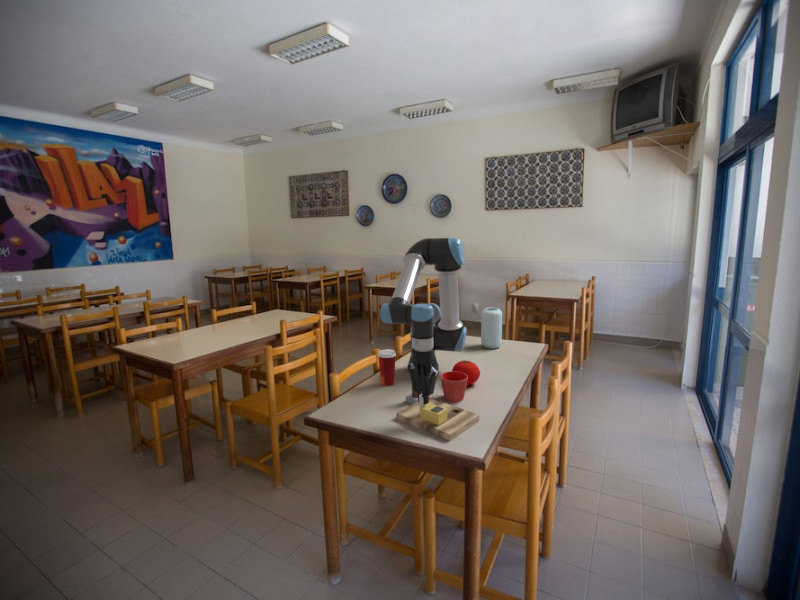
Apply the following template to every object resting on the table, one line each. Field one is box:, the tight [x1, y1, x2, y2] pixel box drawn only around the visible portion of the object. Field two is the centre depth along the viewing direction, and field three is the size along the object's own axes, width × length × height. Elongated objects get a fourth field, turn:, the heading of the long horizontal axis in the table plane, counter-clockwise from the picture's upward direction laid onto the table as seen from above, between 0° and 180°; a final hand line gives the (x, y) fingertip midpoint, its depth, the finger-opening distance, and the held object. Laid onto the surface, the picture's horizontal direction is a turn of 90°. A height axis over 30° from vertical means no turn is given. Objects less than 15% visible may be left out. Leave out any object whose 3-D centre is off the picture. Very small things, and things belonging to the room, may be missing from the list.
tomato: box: [451, 359, 481, 386], centre depth 179 cm, size 11×12×10 cm
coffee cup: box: [376, 348, 397, 387], centre depth 180 cm, size 8×8×15 cm
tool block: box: [405, 393, 418, 405], centre depth 163 cm, size 6×6×2 cm
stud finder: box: [420, 403, 447, 425], centre depth 142 cm, size 8×5×4 cm, turn 47°
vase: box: [480, 306, 503, 350], centre depth 230 cm, size 12×12×22 cm
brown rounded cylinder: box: [411, 385, 418, 398], centre depth 162 cm, size 3×3×11 cm
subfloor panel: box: [395, 397, 480, 442], centre depth 147 cm, size 24×18×2 cm
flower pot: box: [439, 370, 468, 403], centre depth 164 cm, size 11×11×10 cm
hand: (423, 411), depth 145 cm, fingers closed
